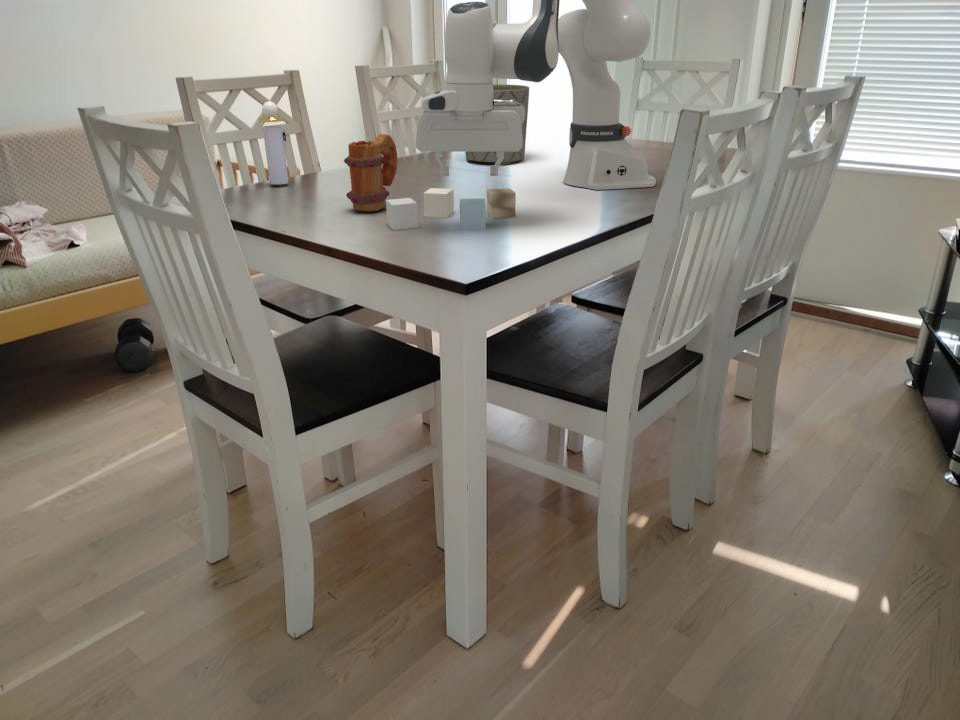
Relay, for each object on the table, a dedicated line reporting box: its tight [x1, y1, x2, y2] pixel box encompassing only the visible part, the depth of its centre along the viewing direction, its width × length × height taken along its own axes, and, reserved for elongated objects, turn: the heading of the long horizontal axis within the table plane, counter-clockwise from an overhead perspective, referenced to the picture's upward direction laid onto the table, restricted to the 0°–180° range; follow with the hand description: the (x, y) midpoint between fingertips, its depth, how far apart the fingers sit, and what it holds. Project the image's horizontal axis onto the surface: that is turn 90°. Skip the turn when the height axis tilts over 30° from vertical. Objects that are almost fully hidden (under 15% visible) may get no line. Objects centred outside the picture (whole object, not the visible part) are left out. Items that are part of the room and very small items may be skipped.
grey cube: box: [385, 197, 419, 231], centre depth 145 cm, size 5×5×5 cm
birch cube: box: [486, 187, 517, 219], centre depth 153 cm, size 5×5×5 cm
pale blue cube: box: [459, 197, 487, 231], centre depth 144 cm, size 5×5×5 cm
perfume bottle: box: [258, 100, 290, 185], centre depth 179 cm, size 6×6×20 cm
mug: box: [343, 133, 398, 213], centre depth 157 cm, size 15×8×15 cm, turn 148°
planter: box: [464, 84, 530, 167], centre depth 207 cm, size 19×19×20 cm
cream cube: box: [422, 187, 455, 219], centre depth 153 cm, size 5×5×5 cm
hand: (469, 175), depth 141 cm, fingers open, 8 cm apart
